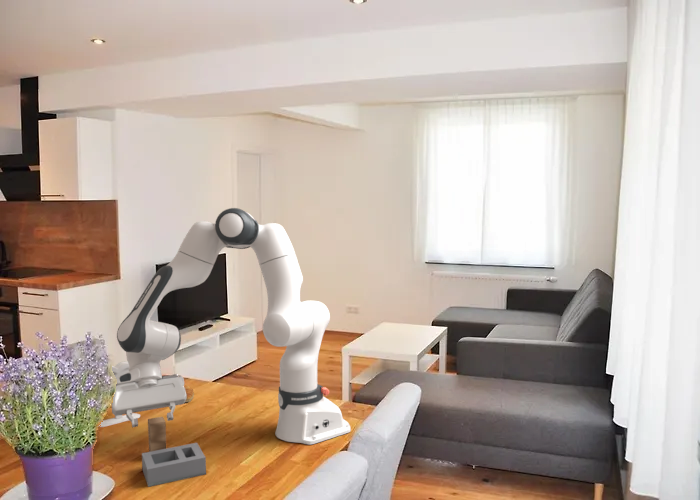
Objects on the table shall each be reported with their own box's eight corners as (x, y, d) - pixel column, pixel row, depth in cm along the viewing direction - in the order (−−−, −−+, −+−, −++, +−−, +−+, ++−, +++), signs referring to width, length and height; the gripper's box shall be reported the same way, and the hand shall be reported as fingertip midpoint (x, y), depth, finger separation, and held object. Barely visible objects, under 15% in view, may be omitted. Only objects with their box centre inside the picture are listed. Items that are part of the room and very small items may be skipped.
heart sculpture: (95, 428, 182) (92, 371, 180) (90, 423, 186) (87, 367, 184) (145, 415, 192) (143, 361, 190) (139, 411, 196) (137, 358, 194)
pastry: (196, 402, 204) (195, 391, 204) (175, 405, 202) (175, 394, 202) (192, 394, 213) (192, 383, 213) (172, 396, 211) (172, 386, 210)
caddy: (197, 458, 162) (196, 442, 161) (206, 474, 153) (205, 457, 152) (142, 469, 155) (141, 453, 155) (148, 486, 146) (147, 469, 146)
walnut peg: (164, 451, 166) (162, 416, 165) (166, 456, 163) (165, 421, 162) (149, 454, 165) (147, 419, 164) (151, 459, 161) (149, 424, 160)
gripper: (181, 378, 180) (189, 420, 173) (108, 389, 171) (114, 434, 163) (183, 367, 176) (192, 411, 168) (109, 378, 167) (114, 424, 159)
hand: (153, 422), depth 166 cm, fingers open, 8 cm apart
